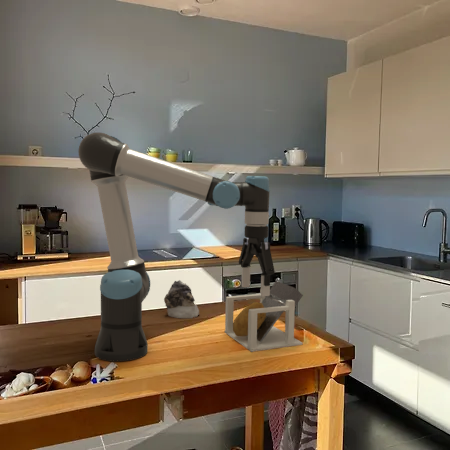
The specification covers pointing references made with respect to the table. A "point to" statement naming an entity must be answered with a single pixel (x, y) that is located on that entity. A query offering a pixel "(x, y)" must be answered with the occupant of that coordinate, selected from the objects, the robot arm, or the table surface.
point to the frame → (250, 341)
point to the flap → (276, 305)
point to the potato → (242, 319)
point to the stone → (180, 301)
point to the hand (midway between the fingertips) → (255, 291)
